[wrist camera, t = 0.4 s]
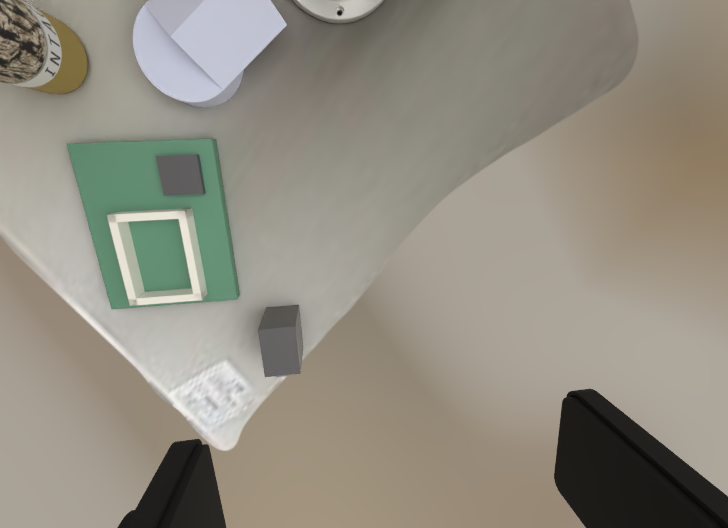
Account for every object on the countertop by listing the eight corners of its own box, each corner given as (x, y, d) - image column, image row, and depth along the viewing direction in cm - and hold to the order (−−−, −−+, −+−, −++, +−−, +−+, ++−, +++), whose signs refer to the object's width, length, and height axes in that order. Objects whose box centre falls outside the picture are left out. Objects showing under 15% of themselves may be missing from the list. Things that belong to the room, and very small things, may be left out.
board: (76, 144, 36) (51, 142, 33) (215, 139, 37) (205, 137, 34) (119, 304, 41) (101, 316, 38) (239, 294, 43) (232, 306, 39)
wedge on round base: (222, -47, 33) (130, 52, 34) (197, -97, 27) (86, 28, 28) (290, 37, 36) (202, 126, 37) (283, 9, 29) (177, 118, 30)
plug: (266, 307, 44) (258, 329, 38) (298, 304, 44) (295, 326, 38) (272, 355, 45) (265, 383, 40) (303, 352, 46) (300, 379, 40)
